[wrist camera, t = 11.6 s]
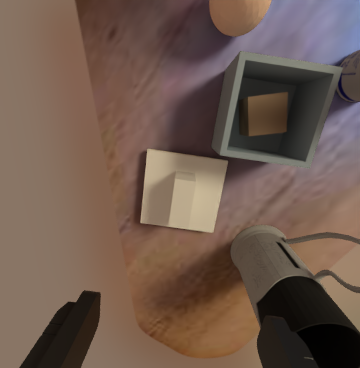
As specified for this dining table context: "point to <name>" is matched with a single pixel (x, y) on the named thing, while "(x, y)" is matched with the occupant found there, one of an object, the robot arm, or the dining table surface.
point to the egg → (237, 15)
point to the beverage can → (350, 78)
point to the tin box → (296, 107)
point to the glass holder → (296, 294)
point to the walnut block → (263, 114)
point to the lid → (182, 190)
